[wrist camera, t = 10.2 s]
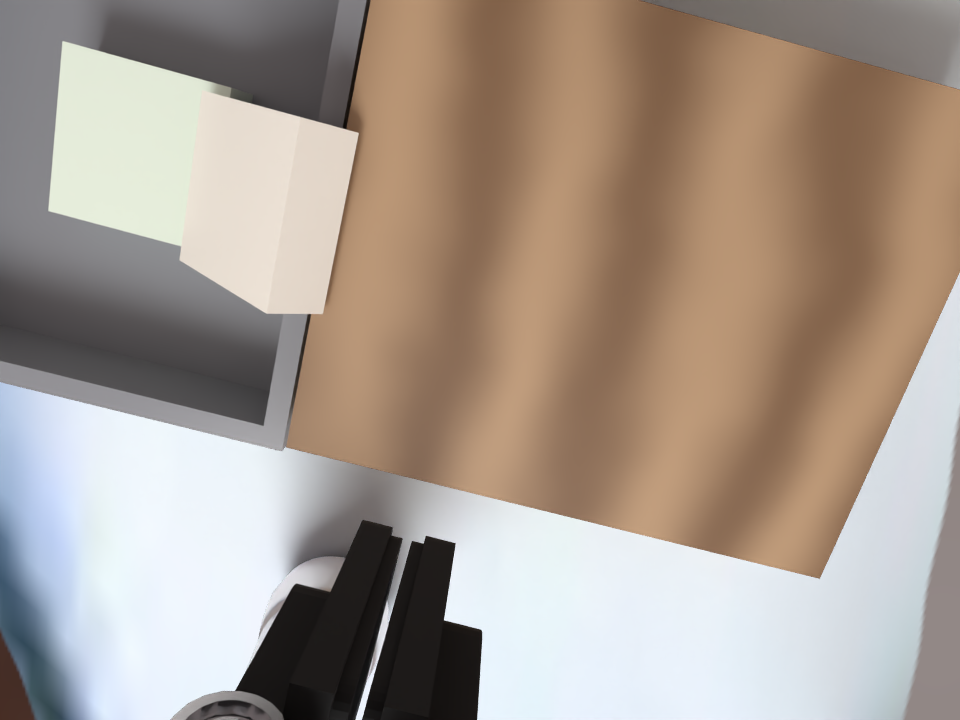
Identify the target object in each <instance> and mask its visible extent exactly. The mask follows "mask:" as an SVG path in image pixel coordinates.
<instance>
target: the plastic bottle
mask: <svg viewBox="0 0 960 720" xmlns="http://www.w3.org/2000/svg"><path fill="white" fill-rule="evenodd" d="M344 560H345V558H344V557H335V556H327V557H318V558H314V559H311V560H308V561H306V562H304V563H302V564H300V565H298V566H297V567H296V568H294V569H293V570H292V571H291V572H290V573H289V574H288V575H287V576H286V577H285V579H284V580H283V581H282V582H281V583H280V584H279V585H278V587H277V588H276V589H275V591H274V592H273V593H272V595H271V598H270V600H269V602H268V604H267V607H266V610H265V613H264V617H263V620H262V623H261V628H260V633H259V638H258V642H257V644H256V647H255V649H254V652H253V655H252V657H251V660H250V662H249V665H250V663H251V661H252V659H253V658H254V656H255V654H256V652H257V650H258V649H259V647H260V645H261V643H262V641H263V640H264V638H265V636H266V634H267V632H268V630H269V629H270V627H271V625H272V623H273V621H274V620H275V618H276V616H277V614H278V612H279V610H280V609H281V607H282V605H283V603H284V601H285V600H286V598H287V596H288V594H289V592H290V590H291V589H292V587H293V586H294V585H295V584H296V583H297V584H301V585H305V586H309V587H313V588H317V589H321V590H325V591H329V592H331V589H332V587H333V585H334V583H335V580H336V578H337V576H338V574H339V571H340V569H341V567H342V565H343V563H344ZM388 612H389V606H388V601H387V603H386V606H385V610H384V614H383V618H382V622H381V626H380V630H379V634H378V638H377V642H376V646H375V650H374V654H373V658H372V662H371V666H370V670H369V674H368V677H367V679H368V678H369V676H370V674H371V673H372V671H373V669H374V667H375V665H376V663H377V661H378V659H379V657H380V653H381V649H382V646H383V642H384V639H385V635H386V632H387V628H388ZM249 665H248V667H249ZM248 667H247V669H248ZM366 682H367V681H366ZM365 685H366V684H365Z"/></svg>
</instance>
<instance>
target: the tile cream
mask: <svg viewBox="0 0 960 720" xmlns="http://www.w3.org/2000/svg"><path fill="white" fill-rule="evenodd" d="M358 135H359V133H357V132H353V131H350V130H346V129H342V128H339V127H335V126H331V125H328V124H324V123H320V122H317V121H313V120H309V119H306V118H302V117H298V116H295V115H291V114H287V113H284V112H280V111H276V110H273V109H269V108H265V107H262V106H258V105H254V104H251V103H247V102H243V101H240V100H236V99H232V98H229V97H225V96H221V95H218V94H214V93H210V92H207V91H203V90H202V95H201V103H200V110H199V117H198V125H197V132H196V140H195V147H194V155H193V162H192V170H191V177H190V185H189V192H188V200H187V207H186V215H185V222H184V230H183V237H182V245H181V252H180V261H181V262H183V263H185V264H186V265H188V266H190V267H191V268H193V269H195V270H196V271H198V272H199V273H201V274H203V275H204V276H206V277H208V278H209V279H211V280H212V281H214V282H216V283H217V284H219V285H221V286H222V287H224V288H225V289H227V290H229V291H230V292H232V293H234V294H235V295H237V296H238V297H240V298H242V299H243V300H245V301H247V302H248V303H250V304H251V305H253V306H255V307H256V308H258V309H260V310H261V311H263V312H264V313H266V314H323V311H324V306H325V301H326V296H327V291H328V286H329V281H330V276H331V271H332V266H333V260H334V255H335V250H336V245H337V240H338V235H339V230H340V225H341V220H342V215H343V210H344V205H345V200H346V195H347V190H348V185H349V180H350V175H351V170H352V165H353V160H354V155H355V150H356V145H357V140H358Z"/></svg>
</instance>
